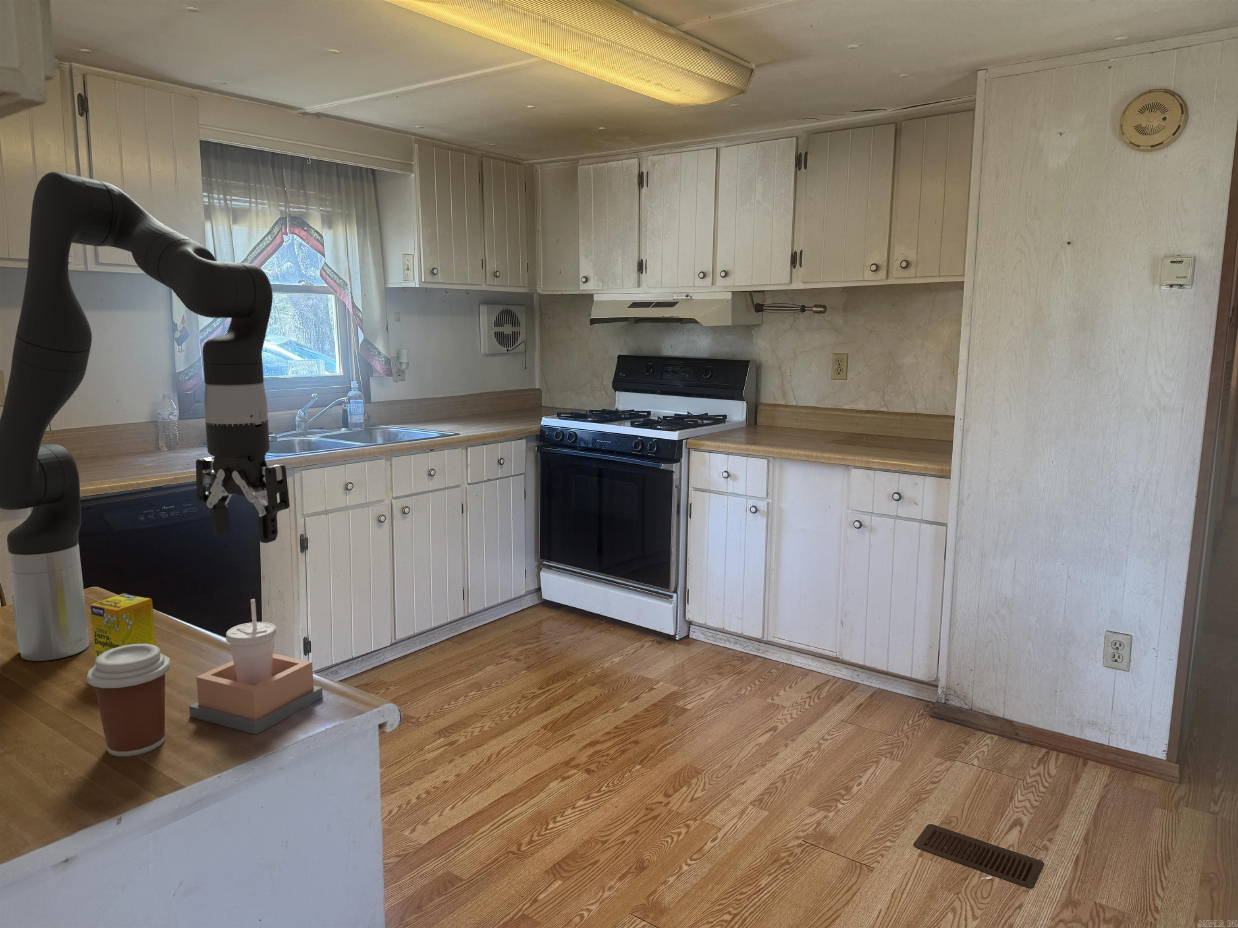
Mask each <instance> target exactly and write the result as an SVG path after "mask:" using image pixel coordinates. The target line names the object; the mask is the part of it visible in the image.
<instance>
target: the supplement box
mask: <svg viewBox="0 0 1238 928" xmlns="http://www.w3.org/2000/svg"><path fill="white" fill-rule="evenodd" d="M153 606H154V605H153V599H152V598H149V597H141V596H137V595H132V594H128V593H126V592H125V593H121V594H118V595H115V596H112V597H109V598H106V599H103V600H99V601H97V602H94V603H91V604H90V606H89V608H90V610H89V611H90V618H91V619H90V620H91V626H92V627H91V628H92V629H91V630H92V638H93V648H94V649H93V650H94V655H95V656H94V657H95V660H96V658H97V657H98V656H99V655H101V654H102V653H103V652H106V651H108V650H111V649H113V648H117V647H121V646H125V645H132V644H151V645H155V646H157V644H156V642H157V641H156V634H155V622H154V621H155V620H154V608H153Z"/></svg>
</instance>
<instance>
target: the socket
mask: <svg viewBox="0 0 1238 928" xmlns="http://www.w3.org/2000/svg"><path fill="white" fill-rule="evenodd" d="M313 669H314V668H313V662H312V661H309V660H305V659H301V658H298V657H297V658H296V657H291V656H288V655H287V656H286V655H282V654H278V653H274V652H273V663H272V677H271V678H269V679H267V680H265V681H263V682H261V683H259V684H257V685H255V686H252V685H248V684H244V683H240V682H238V680H237V676H236V671H235V667H234V662H233V660H231V661H229V662H227V663H224V664H222V665H220V666H218V667H216V668H213V669H211V670H208V671H207V672H205V673H204V672H203V673H202V674H199V675H197V676H196V677H195V679H196V681H195V682H196V690H197V691H196V692H197V702H195V703H193V704H190V705H188V709H189V716H190V717H192V718H195V719H197V720H198V719H199V720H201V719H202V721H206V722H209V723H212V724H216V725H221V726H224V727H227V728H231V729H235V730H239V731H241V730H242V732H245V733H249V734H252V735H258V734H260V733H261V732H263V731H265V730H266V729H269V728H271V727H272V726H274V725H275V724H278V723H279V722H281V721H283V720H285V719H287V718H288V717H290V716H292V715H294V714H296V713H298V712H299V711H301V710H302V709H304V708H306V707H308V706H310V705H312V704H313V703H315V702H317V701H319V700H320V699H323V695H324V694H323V687H321V686H317V685H315V684H314V671H313Z"/></svg>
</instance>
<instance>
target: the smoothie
mask: <svg viewBox="0 0 1238 928" xmlns="http://www.w3.org/2000/svg"><path fill="white" fill-rule="evenodd" d="M256 606H257V605H256V599H255V598H252V599H250V610H251V622H246V623H242V624H238V625H235V626H233V627H231V628H229V629H228V630H227V631H226V633H225V637H226V638H225V641H226V642H227V643H229V649H230V653H231V657H232V661H233V662H234V667H235V671H236V676H237V680H238V682H240V683H244V684H248V685H252V686H255V685H257V684H259V683H261V682H263V681H265V680H267V679H269V678H271V677H272V663H273V653H274V648H275V637H276V636H277V634H278V632H277V626H276V625H275V624H274V623H272V622H267V621H258V620H257V607H256Z"/></svg>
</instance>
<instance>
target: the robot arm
mask: <svg viewBox="0 0 1238 928" xmlns="http://www.w3.org/2000/svg"><path fill="white" fill-rule="evenodd" d="M29 226H30V229H29V241H28V242H29V243H28V258H27V259H28V260H27V272H26V279H25V285H24V293H23V298H22V303H21V309H20V315H19V320H18V323H17V327H16V332H15V337H14V338H15V339H14V344H13V349H12V350H13V351H12V357H11V358H12V359H11V367H10V373H9V377H8V382H7V388H6V393H5V398H4V403H3V406H2V407H3V408H2V411H1V415H0V509H2V510H7V511H15V510H16V511H17V510H19V511H20V510H24V509H30V508H32V510H31V512H30V514H29V515H28V516H27V518H26V519H25V520H24V521H23V522H22V523H20V524H19V525H18V526H16V527H14V528H13V529H12V530H10V532H9V533H8V534H7V536H6V543H7V551H8V558H9V559H8V560H9V567H10V573H11V584H12V590H13V591H12V592H13V595H12V596H11V603H12V609H13V610H12V611H13V618H14V626H15V634H16V635H15V636H16V643H17V652H18V653H20V656H21V658H22V659H23V660H25V661H32V662H42V661H52V660H57V659H58V660H59V659H62V658H66V657H70V656H73V655H76V654H78V653H80V652H82V651H84V650H86V649H87V648H88V647H89V645H90V640H89V639H90V638H89V630H88V621H87V612H86V611H87V610H86V608H87V607H86V601H85V593H84V592H85V591H84V581H83V573H82V565H81V564H82V563H81V556H80V555H81V553H80V545H79V532H80V529H81V524H82V507H81V506H82V505H81V504H82V503H81V484H80V474H79V468H78V466H77V463H76V461H75V457H74V456H73V454H71V452H70V451H69V450H68V449H67V448H65V446H62V445H60V444H56V443H46V444H45V443H44V444H42V440H43V438H44V436H45V435H44V434H45V433H46V430H47V428H48V426H49V425H50V424H51V423H52V420H53V419H54V418H55V417H56V415H57V414H58V413H59V411H60V410H61V409H62V408H63V407H64V405H65V404H67V402H68V401H69V399H71V397H72V396H73V395H74V393H75V392H76V391H77V390H78V388H79V386H80V385H81V383H82V381H83V380H84V377H85V376H86V372H87V367H88V362H89V357H90V354H91V348H92V341H93V339H92V338H93V336H92V329H91V326H90V323H89V321H88V318H87V316H86V314H85V311H84V310H83V308H82V306H81V303H80V302H79V300H78V298H77V296H76V293H75V292H74V291H75V290H74V289H73V287H72V284H71V281H70V275H69V261H70V260H69V259H70V258H69V257H70V251H71V247H72V243H73V244H77V245H78V244H80V245H84V246H91V247H109V248H110V247H111V248H115V249H120V250H123V251H127V252H130V253H131V257H132V258H133V260H134V262H135V264H136V265H137V267H138V268H139V269H140V270H141V271H142V272H144V273H145V274H146V275H147V276H148V277H150V278H152V279H154V280H155V281H157V282H159V283H160V284H161V285H164V286H165V287H167V288H169V289H171V290H172V291H173V293H174V294H175V296H176V297H177V298H178V299H179V300H180V302H181V303H182V304H183V305H184V306H185V307H186V308H187V309H188V310H189V311H190V312H192V313H194V314H196V315H199V316H201V317H204V318H211V319H224V318H225V319H227V318H229V319H230V323H229V326H228V329H227V331H226V333H225V334H222V335H220V336H216V337H213V338H210V339H207V340H206V341H205V342H204V344H203V347H202V361H203V363H202V365H203V374H204V376H203V377H204V379H203V380H204V396H203V398H204V399H203V404H204V405H203V406H204V407H203V408H204V420H205V422H204V423H205V432H206V433H205V435H206V449H207V453H208V454H209V455H210V456H208V457H203V458H197V459H196V460H195V477H196V479H195V481H196V500H197V501H198V502H199V503H205V504H206V506H207V507H208V508H209V510H210V511H209V512H210V525H211V529H212V534H213V535H215V536H223V535H226V534H229V533H230V531H231V523H230V510H229V509H230V507H229V505H228V503H229V501H230V500H231V499H232V498H231V497H232V495H234V494H237V495H238V496H243V497H245V498H246V499H247V501H248V502H249V503H251V504H253V505H254V506H255V509H256V510H257V512H258V516H257V521H258V533H259V534H258V535H259V542H260V543H261V544H262V543H263V544H269V543H271V542H275V541H276V540H277V538H278V534H279V529H278V513H279V512H281V511H285V510H287V509H289V508H290V506H291V505H290V495H289V487H288V486H289V485H288V479H287V468H286V466H285V465H284V464H275V465H268V464H267V460H266V455H267V453H268V452H269V451H270V448H271V447H270V432H269V428H270V427H269V415H268V402H267V401H268V400H267V395H266V389H265V380H264V366H263V364H264V363H263V355H262V354H263V348H264V344H265V340H266V335H267V330H268V325H269V322H270V321H269V320H270V317H271V312H272V307H273V298H274V295H273V287H272V285H271V281H270V279H269V277H268V275H267V274H266V272H265V271H264V270H263V269H262V268H261V267H259V266H258V265H256V264H254V263H253V264H252V263H247V262H246V263H245V262H233V261H232V262H231V261H230V262H229V261H219V260H218V261H217V259H216V256H214V255H213V253H212V252H211V251H210V250H209V249H208V248H207V247H205V245H202V244H201V243H198V242H197V241H195V240H193V239H191V238H189V237H188V236H186V235H184V234H182V233H181V232H178V231H176V230H175V229H173V228H170V227H168V226H166V225H165V224H163V223H162V222H161V221H159V220H158V219H157V218H155V217H154V216H153V215H151V214H150V213H149V212H147V210H145V209H144V208H143V207H142V206H141V205H140V204H138V203H137V202H136V201H135V200H134V199H133V198H132V197H131V196H129V195H128V194H127V193H125V192H124V191H123V190H122V189H121V188H119V187H117V186H116V185H114V184H111V183H109V182H106V181H102V180H98V179H93V178H87V177H83V176H79V175H74V174H70V173H64V172H59V171H50V172H47V173H46V174H44V175H43V176H42V177H41V179H39V181H38V183H37V184H36V188H35V191H34V194H33V200H32V204H31V217H30V225H29ZM207 485H208V491H207V488H206V487H207ZM260 489H261V490H260ZM277 494H278V495H277ZM278 496H279V501H278ZM265 503H266V504H265Z"/></svg>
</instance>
